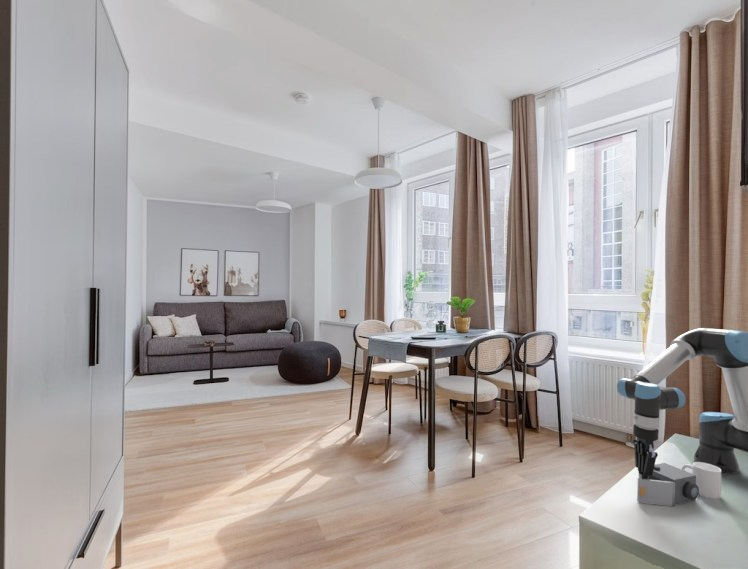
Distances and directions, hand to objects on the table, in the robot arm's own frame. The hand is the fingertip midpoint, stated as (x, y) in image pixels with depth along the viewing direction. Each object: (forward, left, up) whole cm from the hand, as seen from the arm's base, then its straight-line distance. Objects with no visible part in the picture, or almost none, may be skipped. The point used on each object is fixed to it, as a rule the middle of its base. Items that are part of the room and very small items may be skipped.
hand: (642, 491), depth 144 cm
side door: (-1, +4, -2) cm, 5 cm away
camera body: (-12, +2, -3) cm, 13 cm away
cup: (-27, +3, -3) cm, 28 cm away
